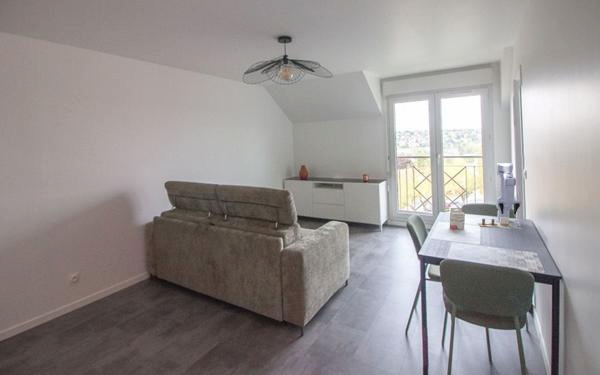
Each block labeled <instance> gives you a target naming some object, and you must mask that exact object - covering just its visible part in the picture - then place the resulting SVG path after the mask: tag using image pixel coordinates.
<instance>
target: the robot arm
mask: <svg viewBox="0 0 600 375" xmlns="http://www.w3.org/2000/svg"><path fill="white" fill-rule="evenodd" d="M513 169H514V164H513V163H512V162H507V163H505V162H501V163H499V162H498V163H497V164H496V173H497V174H496V175H497V176H499V179H500V181H499V182H500V196H499V197H497V199H496V202H495V205H496V209H498V210H497V218H495V220H497V222H500V217H506V218H509V223H510V222H512V221H511V220H510V211H511V209H512V208H513V214H514V215H517V212H518V209H519V208H520V207H521V205H522V201H521V200H515V188H516V185H517V179H516V177H514V175H513Z"/></svg>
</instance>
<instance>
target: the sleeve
mask: <svg viewBox="0 0 600 375" xmlns="http://www.w3.org/2000/svg"><path fill="white" fill-rule="evenodd" d="M509 220H510V217H509V218H506V217H500V221H499V223H500V225H504V226H503V227H509V226H508V225H509V223H510V222H509Z"/></svg>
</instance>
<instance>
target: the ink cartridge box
mask: <svg viewBox="0 0 600 375" xmlns="http://www.w3.org/2000/svg"><path fill="white" fill-rule="evenodd" d="M465 214H466V213H465V212H463V207H450V212H449V228H450V229H451V230H465V219H466V218H465V216H466V215H465Z"/></svg>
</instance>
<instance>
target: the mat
mask: <svg viewBox="0 0 600 375" xmlns="http://www.w3.org/2000/svg"><path fill="white" fill-rule="evenodd" d="M495 223H496V224H497V225H498V226H499V227H505V226H504V225H500V222H495ZM507 227H513V225H512V224H511V223H510V222H509V225H508V226H507Z"/></svg>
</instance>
